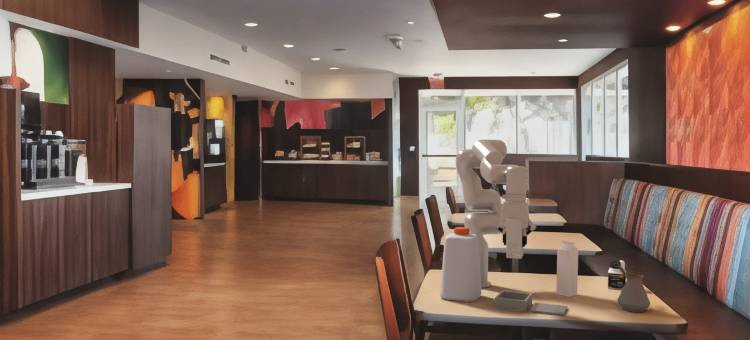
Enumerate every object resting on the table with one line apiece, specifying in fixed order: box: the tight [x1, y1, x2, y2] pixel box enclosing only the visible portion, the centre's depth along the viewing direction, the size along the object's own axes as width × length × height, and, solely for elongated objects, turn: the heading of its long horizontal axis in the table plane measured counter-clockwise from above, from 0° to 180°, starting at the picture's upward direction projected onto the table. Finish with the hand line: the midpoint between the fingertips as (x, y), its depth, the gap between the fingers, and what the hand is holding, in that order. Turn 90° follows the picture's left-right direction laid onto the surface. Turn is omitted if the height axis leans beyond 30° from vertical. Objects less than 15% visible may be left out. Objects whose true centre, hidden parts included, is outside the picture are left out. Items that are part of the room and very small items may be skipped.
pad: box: [528, 302, 568, 317], centre depth 229 cm, size 12×12×1 cm
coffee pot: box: [614, 262, 651, 313], centre depth 237 cm, size 21×12×15 cm, turn 3°
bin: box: [494, 289, 533, 313], centre depth 235 cm, size 12×13×4 cm
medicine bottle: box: [607, 259, 627, 291], centre depth 267 cm, size 7×7×12 cm
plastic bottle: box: [439, 226, 482, 303], centre depth 247 cm, size 15×15×28 cm
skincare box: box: [505, 219, 524, 260], centre depth 234 cm, size 8×6×15 cm
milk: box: [555, 240, 579, 298], centre depth 253 cm, size 6×6×22 cm
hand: (514, 245), depth 234 cm, fingers closed on skincare box, 6 cm apart
